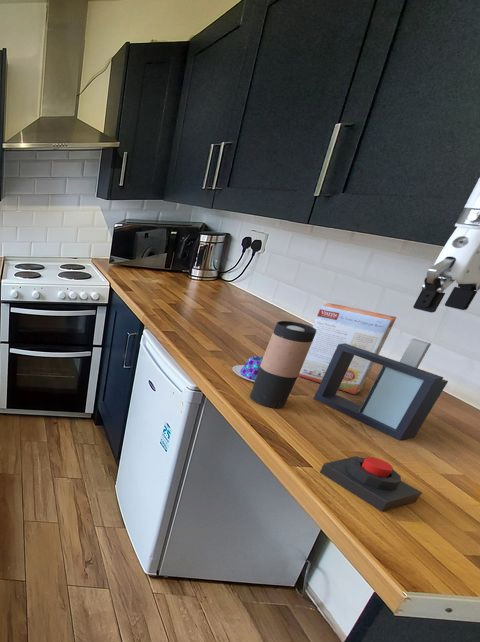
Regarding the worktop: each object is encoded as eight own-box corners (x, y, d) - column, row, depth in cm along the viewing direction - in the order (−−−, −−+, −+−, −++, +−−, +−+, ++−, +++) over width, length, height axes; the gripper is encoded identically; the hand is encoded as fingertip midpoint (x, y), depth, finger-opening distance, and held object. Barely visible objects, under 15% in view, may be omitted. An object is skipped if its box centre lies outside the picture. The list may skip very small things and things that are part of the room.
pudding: (223, 372, 114) (229, 356, 112) (244, 364, 120) (249, 348, 118) (270, 391, 105) (277, 373, 103) (290, 380, 111) (297, 363, 109)
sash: (401, 424, 89) (445, 347, 81) (398, 425, 89) (442, 348, 81) (364, 407, 95) (402, 334, 88) (361, 408, 95) (398, 335, 87)
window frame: (414, 437, 88) (451, 376, 82) (399, 440, 86) (436, 378, 80) (327, 396, 103) (352, 342, 97) (313, 398, 102) (338, 344, 96)
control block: (416, 502, 70) (427, 484, 68) (381, 512, 67) (393, 494, 65) (351, 464, 78) (360, 448, 77) (319, 472, 76) (327, 455, 74)
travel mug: (242, 392, 104) (268, 319, 95) (271, 394, 103) (301, 321, 95) (260, 408, 97) (291, 331, 88) (292, 410, 97) (326, 333, 88)
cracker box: (361, 390, 107) (398, 316, 99) (354, 395, 104) (392, 320, 96) (300, 369, 118) (329, 301, 109) (291, 374, 115) (321, 304, 106)
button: (393, 476, 70) (398, 468, 69) (379, 479, 69) (384, 471, 68) (369, 462, 73) (374, 455, 73) (356, 466, 72) (360, 458, 72)
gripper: (488, 222, 68) (435, 317, 75) (547, 223, 72) (492, 313, 79) (431, 217, 74) (387, 305, 81) (489, 218, 79) (442, 301, 86)
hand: (439, 309), depth 80 cm, fingers open, 9 cm apart
